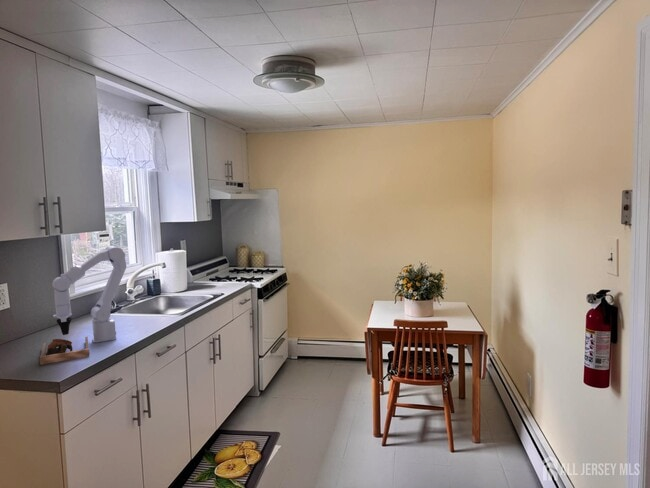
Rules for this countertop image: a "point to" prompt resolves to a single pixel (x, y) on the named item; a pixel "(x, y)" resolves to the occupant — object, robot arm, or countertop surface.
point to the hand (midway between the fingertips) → (65, 334)
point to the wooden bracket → (63, 354)
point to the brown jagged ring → (60, 344)
